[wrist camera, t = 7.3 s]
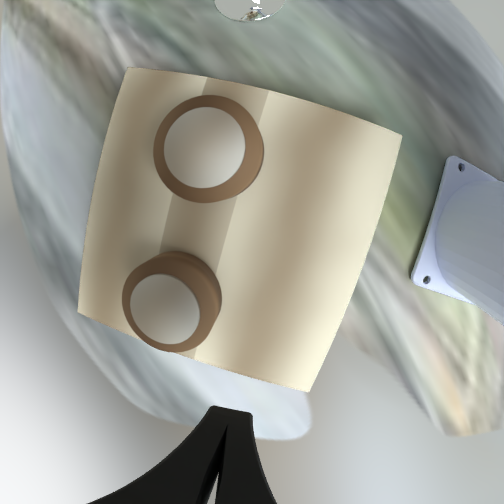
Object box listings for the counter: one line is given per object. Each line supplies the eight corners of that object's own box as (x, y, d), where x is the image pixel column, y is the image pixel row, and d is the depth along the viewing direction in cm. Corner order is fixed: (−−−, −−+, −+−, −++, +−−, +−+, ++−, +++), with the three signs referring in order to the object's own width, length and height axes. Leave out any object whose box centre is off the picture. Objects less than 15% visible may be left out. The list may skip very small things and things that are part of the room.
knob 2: (241, 253, 18) (224, 280, 13) (221, 322, 18) (200, 368, 14) (167, 230, 18) (126, 248, 13) (153, 299, 19) (114, 335, 14)
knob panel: (383, 142, 16) (402, 135, 13) (306, 364, 19) (308, 392, 16) (149, 82, 16) (127, 67, 13) (102, 296, 19) (77, 312, 16)
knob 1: (277, 129, 16) (274, 107, 11) (254, 207, 17) (242, 217, 12) (200, 111, 16) (168, 85, 11) (178, 186, 17) (138, 187, 12)
